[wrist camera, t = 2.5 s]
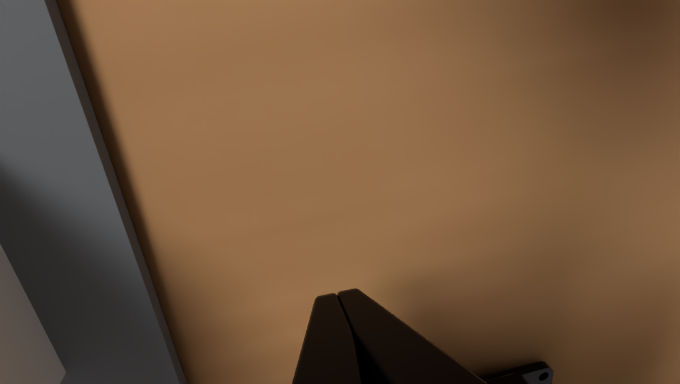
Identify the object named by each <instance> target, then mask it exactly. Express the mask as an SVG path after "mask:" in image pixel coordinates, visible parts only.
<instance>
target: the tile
mask: <svg viewBox="0 0 680 384" xmlns="http://www.w3.org/2000/svg"><path fill="white" fill-rule="evenodd" d="M65 374H66V371H65V369H64V367H63V365H62V363H61V361H60V359H59V357H58V355H57V353H56V351H55V350H54V348H53V346H52V344H51V342H50V340H49V338H48V336H47V334H46V332H45V330H44V328H43V326H42V324H41V322H40V320H39V318H38V316H37V314H36V312H35V311H34V309H33V307H32V305H31V303H30V301H29V299H28V297H27V295H26V293H25V291H24V289H23V287H22V285H21V283H20V281H19V279H18V277H17V275H16V273H15V272H14V270H13V268H12V266H11V264H10V262H9V260H8V258H7V256H6V254H5V252H4V250H3V248H2V246H1V244H0V384H60V383H61V381H62V380H63V378H64V376H65Z"/></svg>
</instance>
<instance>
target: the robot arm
mask: <svg viewBox="0 0 680 384" xmlns="http://www.w3.org/2000/svg"><path fill="white" fill-rule="evenodd" d="M552 378H553V370H552V369H551V368H550V367H549V366H548V364H547V363H546V362H543V361H540V362H536V363H532V364H528V365H525V366H521V367H517V368H514V369H510V370H506V371H503V372H499V373H495V374H491V375H488V376H484V377H480V378H479V377H478V376H476V375H475V374H474V373H472V372H471V371H470V370H468V369H467V368H465V367H464V366H463V365H461V364H460V363H459V362H457V361H456V360H455V359H453V358H452V357H450V356H449V355H448V354H446V353H445V352H444V351H442V350H441V349H439V348H438V347H437V346H435V345H434V344H433V343H431V342H430V341H429V340H427V339H426V338H424V337H423V336H422V335H420V334H419V333H418V332H416V331H415V330H413V329H412V328H411V327H409V326H408V325H407V324H405V323H404V322H403V321H401V320H400V319H398V318H397V317H396V316H394V315H393V314H392V313H390V312H389V311H388V310H386V309H385V308H383V307H382V306H381V305H379V304H378V303H377V302H375V301H374V300H372V299H371V298H370V297H368V296H367V295H366V294H364V293H363V292H362V291H360V290H359V289H356V288H355V289H349V290H345V291H340V292H339V293H338V294H337V295H336V294H335V293H331V294H326V295H321V296H318V297H316V299H315V301H314V305H313V309H312V312H311V316H310V320H309V323H308V327H307V331H306V334H305V338H304V342H303V345H302V349H301V353H300V356H299V360H298V364H297V367H296V371H295V375H294V378H293V382H292V384H551V383H552Z"/></svg>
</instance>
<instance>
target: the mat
mask: <svg viewBox="0 0 680 384" xmlns="http://www.w3.org/2000/svg"><path fill="white" fill-rule="evenodd" d="M0 244H1V246H2V248H3V250H4V252H5V254H6V256H7V258H8V260H9V262H10V264H11V266H12V268H13V270H14V272H15V273H16V275H17V277H18V279H19V281H20V283H21V285H22V287H23V289H24V291H25V293H26V295H27V297H28V299H29V301H30V303H31V305H32V307H33V309H34V311H35V312H36V314H37V316H38V318H39V320H40V322H41V324H42V326H43V328H44V330H45V332H46V334H47V336H48V338H49V340H50V342H51V344H52V346H53V348H54V350H55V351H56V353H57V355H58V357H59V359H60V361H61V363H62V365H63V367H64V369H65V371H66V374H65V376H64V378H63V380H62V381H61V383H60V384H187V382H186V379H185V376H184V373H183V370H182V367H181V364H180V362H179V359H178V356H177V353H176V350H175V347H174V344H173V341H172V338H171V335H170V332H169V329H168V326H167V324H166V321H165V318H164V315H163V312H162V309H161V306H160V303H159V300H158V297H157V294H156V291H155V288H154V286H153V283H152V280H151V277H150V274H149V271H148V268H147V265H146V262H145V259H144V256H143V253H142V250H141V248H140V245H139V242H138V239H137V236H136V233H135V230H134V227H133V224H132V221H131V218H130V215H129V212H128V210H127V207H126V204H125V201H124V198H123V195H122V192H121V189H120V186H119V183H118V180H117V177H116V174H115V172H114V169H113V166H112V163H111V160H110V157H109V154H108V151H107V148H106V145H105V142H104V139H103V136H102V134H101V131H100V128H99V125H98V122H97V119H96V116H95V113H94V110H93V107H92V104H91V101H90V98H89V96H88V93H87V90H86V87H85V84H84V81H83V78H82V75H81V72H80V69H79V66H78V63H77V60H76V58H75V55H74V52H73V49H72V46H71V43H70V40H69V37H68V34H67V31H66V28H65V25H64V22H63V20H62V17H61V14H60V11H59V8H58V5H57V2H56V0H0Z"/></svg>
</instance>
